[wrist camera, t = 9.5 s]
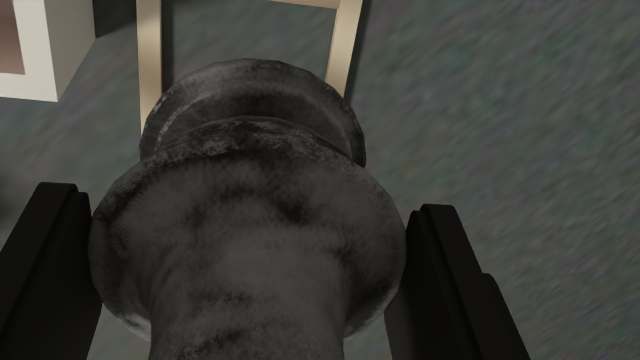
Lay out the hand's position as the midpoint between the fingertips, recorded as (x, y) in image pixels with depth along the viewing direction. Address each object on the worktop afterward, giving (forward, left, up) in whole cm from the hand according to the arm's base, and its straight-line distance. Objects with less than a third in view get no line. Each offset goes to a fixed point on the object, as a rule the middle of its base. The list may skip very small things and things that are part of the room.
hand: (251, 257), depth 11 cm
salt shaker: (0, 0, -3) cm, 3 cm away
